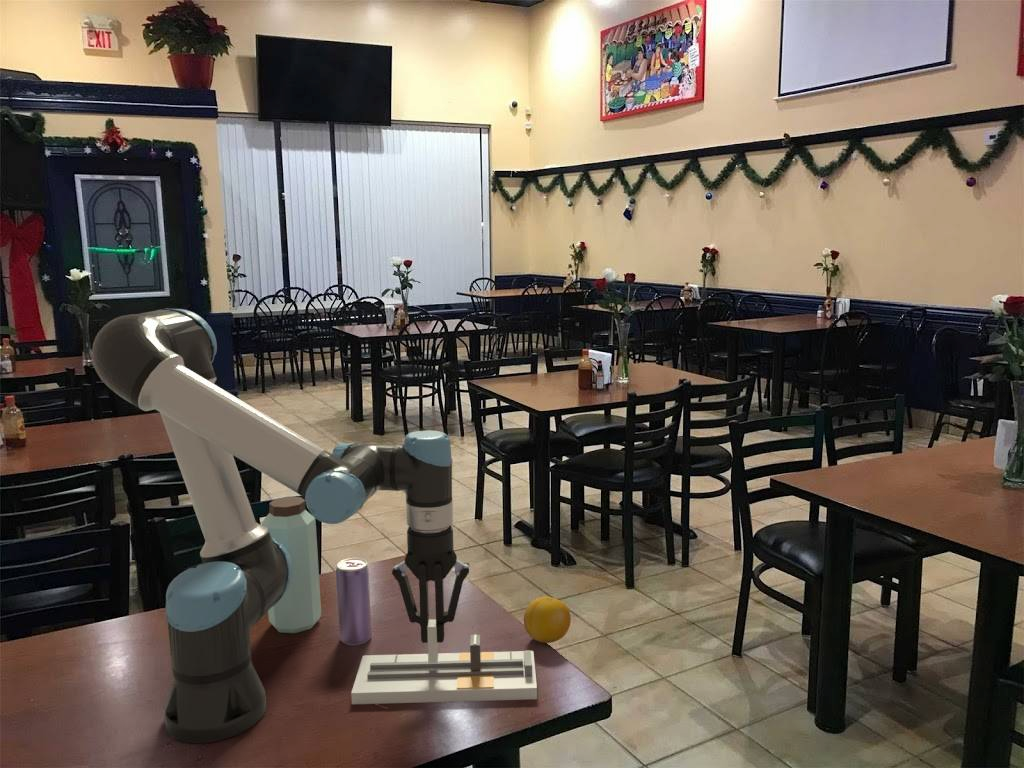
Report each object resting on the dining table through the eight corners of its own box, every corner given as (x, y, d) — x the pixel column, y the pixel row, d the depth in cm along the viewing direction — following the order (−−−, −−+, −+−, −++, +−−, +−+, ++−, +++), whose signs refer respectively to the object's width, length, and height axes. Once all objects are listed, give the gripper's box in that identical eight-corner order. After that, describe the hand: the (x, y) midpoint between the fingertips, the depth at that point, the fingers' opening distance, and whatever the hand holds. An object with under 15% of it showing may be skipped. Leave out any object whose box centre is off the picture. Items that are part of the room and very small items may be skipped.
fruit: (539, 624, 157) (539, 586, 155) (577, 634, 153) (577, 594, 151) (516, 644, 149) (516, 603, 148) (555, 654, 145) (555, 613, 144)
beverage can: (365, 648, 149) (360, 571, 146) (334, 645, 150) (330, 569, 148) (376, 632, 155) (373, 558, 152) (347, 630, 156) (343, 556, 153)
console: (351, 704, 131) (350, 681, 130) (363, 666, 143) (362, 644, 142) (537, 699, 131) (536, 676, 131) (533, 661, 143) (533, 640, 142)
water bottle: (332, 619, 161) (325, 498, 156) (294, 640, 152) (285, 513, 148) (297, 607, 166) (289, 490, 161) (258, 627, 158) (248, 504, 153)
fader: (470, 675, 135) (470, 644, 134) (471, 664, 138) (470, 634, 138) (480, 675, 135) (479, 644, 134) (480, 664, 138) (480, 633, 138)
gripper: (387, 534, 128) (391, 671, 132) (469, 533, 129) (471, 670, 133) (392, 518, 136) (397, 648, 140) (470, 517, 136) (472, 647, 140)
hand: (433, 658), depth 136 cm, fingers closed
